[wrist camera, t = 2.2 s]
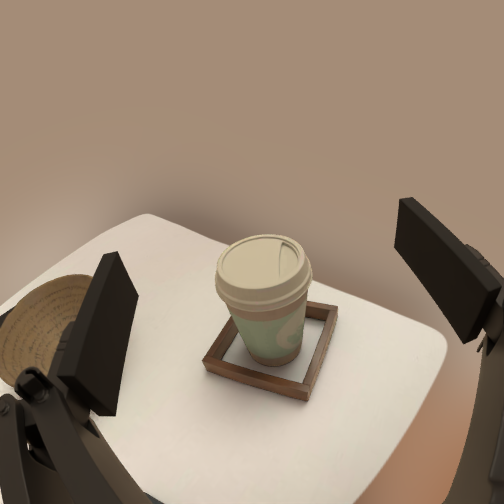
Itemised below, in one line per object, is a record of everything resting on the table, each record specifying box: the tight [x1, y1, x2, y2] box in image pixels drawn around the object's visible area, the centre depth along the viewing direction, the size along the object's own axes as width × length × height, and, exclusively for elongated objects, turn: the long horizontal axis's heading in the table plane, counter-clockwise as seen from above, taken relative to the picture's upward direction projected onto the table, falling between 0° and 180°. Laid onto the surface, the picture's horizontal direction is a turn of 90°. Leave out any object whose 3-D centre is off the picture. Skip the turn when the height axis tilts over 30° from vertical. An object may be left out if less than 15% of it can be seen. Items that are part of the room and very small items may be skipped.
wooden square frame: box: [202, 301, 338, 401], centre depth 32 cm, size 11×11×2 cm
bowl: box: [0, 274, 93, 388], centre depth 31 cm, size 18×18×8 cm
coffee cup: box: [215, 234, 313, 366], centre depth 29 cm, size 8×8×12 cm
